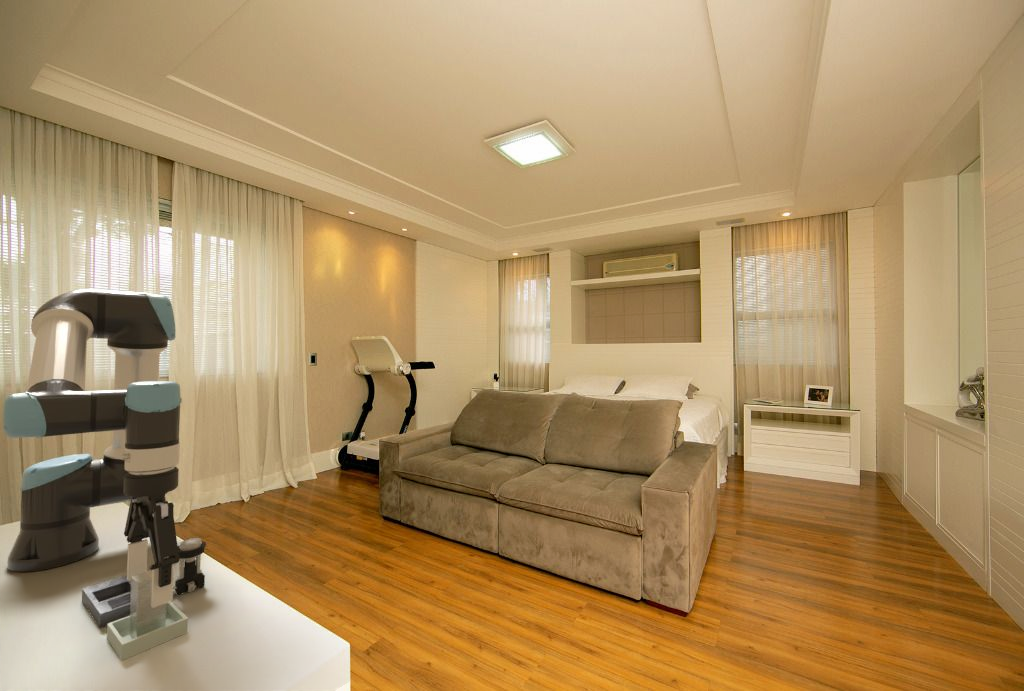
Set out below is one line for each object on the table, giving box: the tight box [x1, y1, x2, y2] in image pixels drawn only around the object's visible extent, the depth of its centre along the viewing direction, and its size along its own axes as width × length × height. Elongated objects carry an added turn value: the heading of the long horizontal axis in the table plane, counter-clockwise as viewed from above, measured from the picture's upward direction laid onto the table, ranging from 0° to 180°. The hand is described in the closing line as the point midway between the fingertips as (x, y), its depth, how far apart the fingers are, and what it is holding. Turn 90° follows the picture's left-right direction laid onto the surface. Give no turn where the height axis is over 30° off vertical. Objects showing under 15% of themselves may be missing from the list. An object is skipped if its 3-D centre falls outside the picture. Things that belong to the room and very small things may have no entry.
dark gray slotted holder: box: [81, 574, 131, 629], centre depth 86 cm, size 14×7×3 cm, turn 54°
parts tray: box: [106, 601, 189, 661], centre depth 78 cm, size 9×9×2 cm
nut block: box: [130, 569, 166, 639], centre depth 78 cm, size 4×4×10 cm
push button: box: [173, 537, 207, 596], centre depth 92 cm, size 7×5×10 cm
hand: (148, 590), depth 78 cm, fingers open, 13 cm apart
